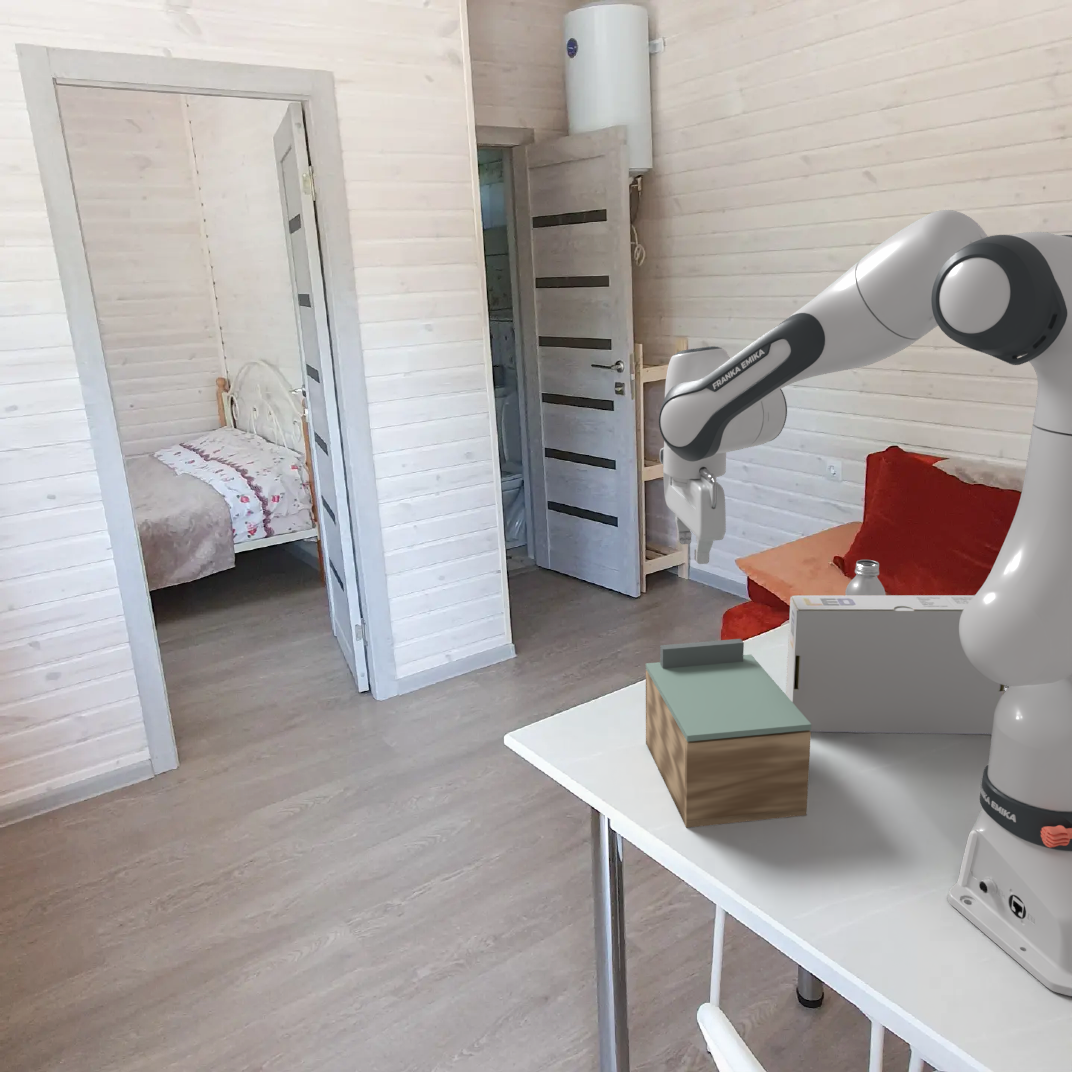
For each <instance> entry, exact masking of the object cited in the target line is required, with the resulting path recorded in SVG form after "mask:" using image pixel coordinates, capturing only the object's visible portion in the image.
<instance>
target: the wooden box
mask: <svg viewBox="0 0 1072 1072" xmlns="http://www.w3.org/2000/svg"><path fill="white" fill-rule="evenodd" d="M811 737H812V732H810V730H805V731H795V732H784V733H774V734H763V735H752V736H742V737H731V738H721V739H710V740H700V741H689V742H687V740H686V739H685V737H684V735H683V733H682V732H681V730H680V728H679V726H678V725H677V723H676V721H675V719H674V717H673V716H672V714H671V712H670V710H669V709H668V707H667V705H666V703H665V702H664V700H663V698H662V696H661V695H660V693H659V691H658V689H657V688H656V686H655V684H654V682H653V680H652V679H651V677H650V675H649V673H648V672H647V670H646V669H645V745H646V747H647V750H648V751H649V753H650V755H651V757H652V758H653V761H654V763H655V765H656V767H657V770H658V771H659V774H660V776H661V778H662V780H663V782H664V785H665V787H666V789H667V791H668V792H669V795H670V796H671V799H672V801H673V803H674V806H675V807H676V809H677V811H678V813H679V816H680V817H681V820H682V822H683V824H684V826H685V828H687V829H688V828H698V827H708V826H715V825H725V824H726V825H727V824H735V823H742V822H743V823H744V822H755V821H764V820H773V819H782V818H784V819H785V818H791V817H801V816H803V817H804V816H807V815H808V814H807V813H808V812H807V811H808V794H809V791H808V790H809V777H810V776H809V775H810V774H809V773H810V755H811Z"/></svg>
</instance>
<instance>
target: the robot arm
mask: <svg viewBox="0 0 1072 1072" xmlns="http://www.w3.org/2000/svg"><path fill="white" fill-rule="evenodd" d="M937 327H939V329H941V331H942V332H943V333H944V335H946V336H947V337H948V338H950V339H951V340H952V341H954V342H956V343H957V344H959V345H961V346H964V347H966V348H968V349H970V350H973V351H977V352H980V353H981V354H986V355H988V356H990V357H993V358H995V359H998V360H1001V361H1002V362H1004V363H1006V364H1009V365H1012V366H1020V365H1023V364H1027V363H1030V364H1031V367H1033V369H1034V371H1035V374H1036V379H1037V390H1036V391H1037V394H1036V402H1035V407H1034V415H1033V420H1032V426H1031V435H1030V439H1029V440H1030V441H1029V447H1028V453H1027V454H1028V455H1027V460H1026V466H1025V472H1024V478H1023V484H1022V488H1021V489H1022V490H1021V494H1020V499H1019V502H1018V505H1017V508H1016V511H1015V515H1014V516H1013V520H1012V522H1011V524H1010V527H1009V529H1008V532H1007V534H1006V536H1005V539H1004V542H1003V544H1002V546H1001V548H1000V551H999V553H998V555H997V557H996V560H995V562H994V563H993V566H992V568H991V571H990V573H988V575H987V578H986V579H985V581H984V582H983V584H982V586H981V587H980V588H979V589H978V591H977V592H976V594H974V595H975V596H974V597H973V598H972V599H971V600H970V601H969V602H968V604H967V605H966V606H965V608H964V610H963V612H962V614H961V617H960V622H959V637H960V641H961V645H962V648H963V650H964V652H965V654H966V656H967V658H968V659H969V661H970V662H971V664H972V665H973V666H974V667H975V668H976V669H977V670H978V671H979V672H980V673H981V674H982V675H984V676H985V677H987V678H988V679H990V680H992V681H994V682H996V683H999V684H1002V685H1005V686H1008V688H1007V689H1006V690H1004V694H1003V695H1002V696H1001V698H1000V700H999V702H998V704H997V706H996V709H995V712H994V720H993V728H992V734H991V737H990V738H991V740H990V748H989V757H988V764H987V765H986V766H985V767H984V769H983V772H982V778H981V779H980V785H979V794H980V795H979V803H980V805H981V808H980V811H979V814H978V816H977V818H976V820H975V822H974V824H973V826H972V828H971V829H970V831H969V835H968V837H967V842H966V845H965V849H964V854H963V857H962V862H961V866H960V870H959V874H958V879H957V881H956V882H955V883H954V884H953V885H952V887H950V888H949V892H948V894H947V901H948V903H949V904H950V905H951V906H952V907H954V909H955V910H957V911H958V912H959V913H960V914H961V915H962V916H963V917H965V918H966V919H967V920H969V922H970V923H972V924H973V925H974V926H975V927H976V928H977V929H979V930H980V931H981V932H982V933H983V934H984V935H986V936H987V937H988V938H989V939H990V940H991V941H992V942H994V943H995V944H996V945H997V946H998V947H1000V948H1001V949H1002V950H1003V951H1004V952H1005V953H1007V955H1009V956H1010V958H1012V959H1014V960H1015V961H1016V962H1017V963H1018V964H1019V965H1020V966H1022V968H1024V969H1025V970H1026V971H1027V972H1028V973H1030V974H1031V975H1032V976H1033V977H1034V978H1035V979H1036V980H1038V981H1039V983H1041V984H1042V985H1044V987H1046V988H1047V989H1048V990H1050V991H1052V992H1053V993H1058V994H1060V995H1061V994H1062V995H1065V996H1069V997H1072V234H1054V233H1050V232H1047V231H1046V232H1045V231H1030V232H1029V231H1027V232H1020V233H1012V234H996V235H995V234H994V235H990V236H988V235H987V234H986V232H985V229H983V227H981V226H980V225H979V223H978V222H976V221H975V219H973V218H972V217H970V216H968V215H967V214H965V213H962V212H960V211H957V210H951V209H941V210H936V211H932V212H930V213H929V214H926V215H924V216H922V217H921V218H919V219H917V220H915V221H913V222H912V223H910V224H908V225H906V226H905V227H903V228H902V229H901V230H898V231H897V232H895V233H894V234H893V235H891V236H890V237H888V238H886V239H885V240H884V241H883V242H881V243H879V244H878V245H877V246H875V247H874V248H873V249H871V250H870V251H869V252H868V253H866V255H864V256H863V257H862V258H860V259H859V260H858V261H857V262H856V263H855V264H854V265H852V266H851V267H850V268H848V269H847V270H846V271H845V272H844V273H842V275H840V276H839V277H838V278H837V279H835V280H834V281H833V282H832V283H831V284H829V285H828V286H827V287H825V288H824V289H823V290H822V291H820V292H819V293H818V294H817V295H816V296H815V297H813V298H812V299H811V300H809V301H808V302H807V303H805V304H804V305H803V306H801V307H800V308H799V309H797V310H796V311H795V312H793V313H792V314H791V315H789V316H788V317H787V318H786V319H784V320H783V321H782V322H780V323H779V324H777V325H776V326H775V327H773V328H771V329H770V330H768V331H767V332H765V333H764V334H762V336H760V337H758V338H757V339H756V340H754V341H753V342H751V343H750V344H749V345H747V346H745V348H742V350H740V351H739V352H738V353H736V354H735V355H734V356H732V357H730V355H729V354H728V352H727V351H726V349H724V348H722V347H720V346H715V345H713V346H704V347H698V348H689V349H684V350H680V351H677V352H676V353H675V354H674V355H672V356H671V357H670V360H669V362H668V366H667V370H666V376H665V383H664V384H665V385H664V399H663V401H662V404H661V406H660V410H659V414H658V427H659V431H660V434H661V437H662V439H663V447H662V448H659V449H660V450H659V461H660V464H661V465H662V473H663V476H662V477H663V478H662V479H663V491H664V500H665V503H666V507H668V508H669V510H670V511H671V512H672V513H674V520H675V525H676V530H677V541H678V542H679V543H680V545H691V542H692V535H694V536H695V541H696V548H695V549H694V557H693V558H694V560H695V562H696V563H697V564H699V565H703V564H704V565H705V564H706V565H707V564H708V563H709V562H710V553H711V550H712V546H713V543H714V542H715V541H722V540H723V539H724V538H725V536H726V530H727V529H726V528H727V527H726V525H727V524H726V522H727V521H726V519H727V518H726V517H727V516H726V496H725V491H724V487H723V486H722V485H721V484H720V483H719V482H717V479H718V478H719V477H721V476H724V475H725V474H726V471H727V453H730V452H735V451H738V450H739V451H740V450H744V449H748V448H753V447H757V446H760V445H764V444H767V443H768V442H771V441H774V440H775V439H776V438H777V437H778V436H780V435H781V433H782V431H783V430H784V427H785V426H786V425H785V424H786V422H787V421H786V420H787V416H788V403H787V399H786V395H785V394H784V391H783V390H782V389H783V388H785V387H788V386H789V385H791V384H795V383H797V382H800V381H802V380H803V381H804V380H807V379H809V378H813V377H817V376H822V375H827V374H832V373H837V372H842V371H848V370H852V369H854V370H855V369H857V368H863V367H867V366H870V365H873V364H875V363H877V362H880V361H882V360H885V359H887V358H889V357H891V356H894V355H895V354H897V353H900V352H901V351H903V350H904V349H907V348H908V347H910V346H912V345H913V344H914V343H916V342H917V341H919V340H920V339H921V338H923V337H924V336H926V335H927V334H929V333H930V332H931V331H933V330H934V329H936V328H937ZM692 533H693V534H692Z"/></svg>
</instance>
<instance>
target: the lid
mask: <svg viewBox="0 0 1072 1072" xmlns="http://www.w3.org/2000/svg"><path fill="white" fill-rule="evenodd" d="M744 645H745V643H744V641H743V640H742V638H733V639H722V640H721V639H720V640H710V641H708V640H707V641H699V642H698V641H696V642H684V643H671V644H663V645H660V646H659V647H660V648H659V650H660V651H659V655H660V656H659V660H660V661H658V662H648V663H647V662H646V663H645V671H646V670H647V672H648V673H649V675H650V677H651V679H652V680H653V682H654V684H655V686H656V688H657V689H658V691H659V693H660V695H661V696H662V698H663V700H664V702H665V703H666V705H667V707H668V709H669V710H670V712H671V714H672V716H673V717H674V719H675V721H676V723H677V725H678V726H679V728H680V730H681V732H682V733H683V735H684V737H685V739H686V740H687V742H689V741H700V740H710V739H721V738H731V737H742V736H752V735H763V734H774V733H784V732H795V731H805V730H811V723H810V722H809V721H808V720H807V719H806V717H805V716H804V715H803V714H802V713H801V712H800V711H799V709H798V708H797V707H796V706H795V705H794V704H793V702H792V701H791V700H790V699H789V698H788V697H787V695H786V692H784V691H783V689H782V688H780V686H779V685H778V684H777V683H776V681H775V680H774V679H773V678H772V676H770V675H769V673H768V672H767V671H766V670H765V668H763V666H762V665H761V664H760V663H759V662H758V661H757V660H756V659H755V657H754V656H753V655H752V654H744V651H745V650H744V648H745V647H744Z"/></svg>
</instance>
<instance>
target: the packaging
mask: <svg viewBox="0 0 1072 1072" xmlns="http://www.w3.org/2000/svg"><path fill="white" fill-rule="evenodd" d="M975 595H976V594H973V595H969V594H967V595H966V594H965V595H959V594H958V595H956V594H954V595H952V594H949V595H948V594H947V595H945V594H944V595H938V594H937V595H936V594H935V595H933V594H932V595H928V594H927V595H925V594H923V595H921V594H920V595H919V594H918V595H917V594H914V595H907V594H905V595H902V594H901V595H899V594H895V595H894V594H893V595H891V594H890V595H889V594H888V595H842V594H840V595H835V594H834V595H833V594H831V595H827V594H826V595H824V594H823V595H817V594H816V595H813V594H812V595H804V594H803V595H791V596H790V598H789V620H788V623H789V624H788V643H787V644H788V645H787V662H786V663H787V665H786V667H787V668H786V687H785V690H786V691H785V694H786V695H787V697H788V698H789V699H790V700H791V701H792V702H793V704H794V705H795V706H796V707H797V708H798V709H799V711H800V712H801V713H802V714H803V715H804V716H805V717H806V719H807V720H808V721H809V722H810V723H811V730H810V732H811V733H857V734H858V733H863V734H865V733H868V734H870V733H871V734H872V733H874V734H925V735H926V734H927V735H928V734H935V735H936V734H937V735H942V734H943V735H992V728H993V720H994V712H995V709H996V706H997V704H998V702H999V700H1000V698H1001V696H1002V695H1003V694H1004V692H1005V691H1006V690H1005V689H1006V688H1005V687H1006V685H1002V684H999V683H996V682H994V681H992V680H990V679H988V678H987V677H985V676H984V675H982V674H981V673H980V672H979V671H978V670H977V669H976V668H975V667H974V666H973V665H972V664H971V662H970V661H969V659H968V658H967V656H966V654H965V652H964V650H963V648H962V645H961V641H960V637H959V622H960V617H961V614H962V612H963V610H964V608H965V606H966V605H967V604H968V602H969V601H970V600H971V599H972V598H973V597H974V596H975Z"/></svg>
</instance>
